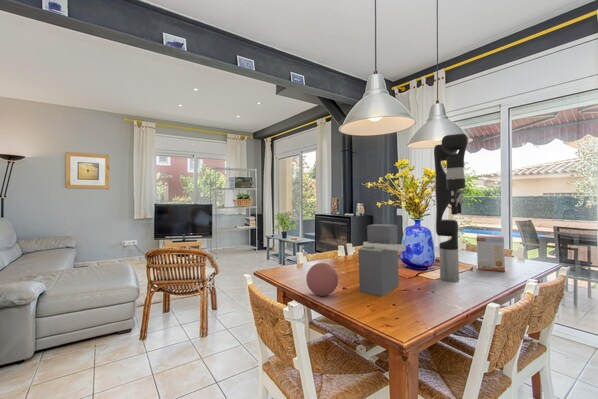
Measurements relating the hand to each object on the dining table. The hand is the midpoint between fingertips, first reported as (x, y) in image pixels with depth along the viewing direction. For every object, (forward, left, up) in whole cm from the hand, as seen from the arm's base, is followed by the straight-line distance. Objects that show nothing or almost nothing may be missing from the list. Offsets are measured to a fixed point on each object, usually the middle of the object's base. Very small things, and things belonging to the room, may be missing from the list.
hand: (456, 213), depth 129 cm
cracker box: (-65, +5, -38) cm, 76 cm away
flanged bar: (+14, -30, -16) cm, 37 cm away
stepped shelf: (+9, -34, -38) cm, 52 cm away
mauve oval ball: (+32, -54, -38) cm, 74 cm away
